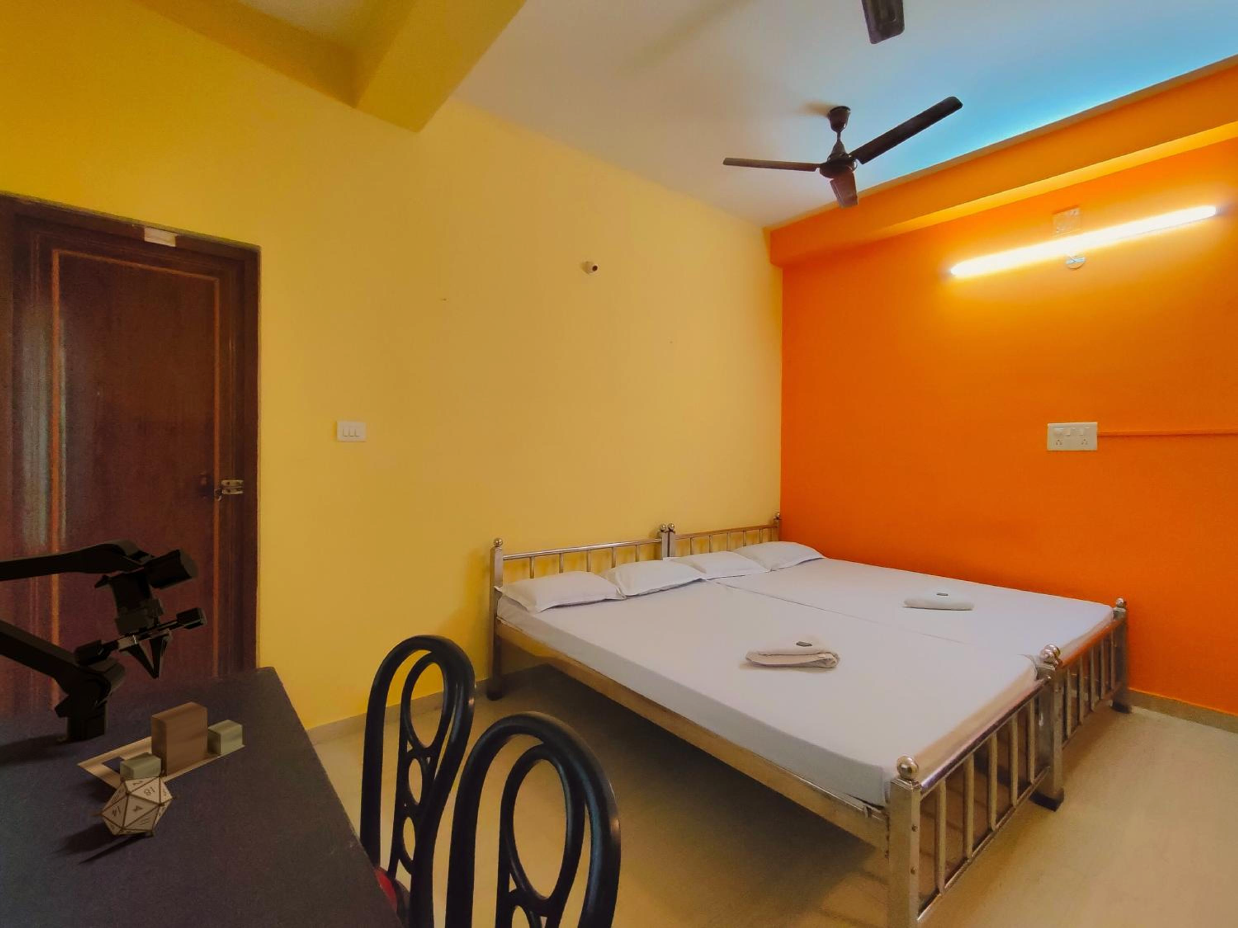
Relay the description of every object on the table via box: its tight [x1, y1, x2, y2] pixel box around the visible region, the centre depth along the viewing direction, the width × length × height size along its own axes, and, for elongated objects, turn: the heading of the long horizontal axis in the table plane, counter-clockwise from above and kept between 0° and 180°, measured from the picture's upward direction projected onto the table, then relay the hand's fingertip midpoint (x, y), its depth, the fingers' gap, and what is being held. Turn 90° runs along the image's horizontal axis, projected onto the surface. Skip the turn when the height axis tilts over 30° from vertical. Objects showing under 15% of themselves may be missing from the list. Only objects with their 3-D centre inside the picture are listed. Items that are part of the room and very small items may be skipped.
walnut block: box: [150, 701, 208, 776], centre depth 96 cm, size 5×6×9 cm
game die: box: [90, 770, 181, 844], centre depth 80 cm, size 9×8×10 cm
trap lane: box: [76, 719, 246, 790], centre depth 98 cm, size 18×17×5 cm
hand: (157, 678), depth 103 cm, fingers closed
